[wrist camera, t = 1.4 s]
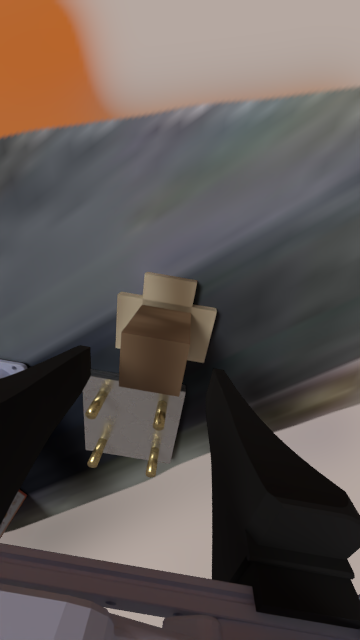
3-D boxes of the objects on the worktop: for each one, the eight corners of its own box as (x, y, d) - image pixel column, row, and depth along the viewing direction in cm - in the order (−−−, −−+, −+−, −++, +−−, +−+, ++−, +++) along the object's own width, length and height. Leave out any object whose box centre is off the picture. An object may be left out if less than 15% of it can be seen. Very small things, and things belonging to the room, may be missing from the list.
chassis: (89, 441, 24) (73, 473, 21) (87, 368, 20) (66, 394, 16) (170, 455, 24) (167, 488, 21) (186, 385, 20) (184, 414, 16)
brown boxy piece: (118, 359, 19) (89, 409, 14) (123, 267, 16) (85, 283, 10) (199, 373, 19) (201, 428, 14) (221, 284, 16) (236, 310, 10)
